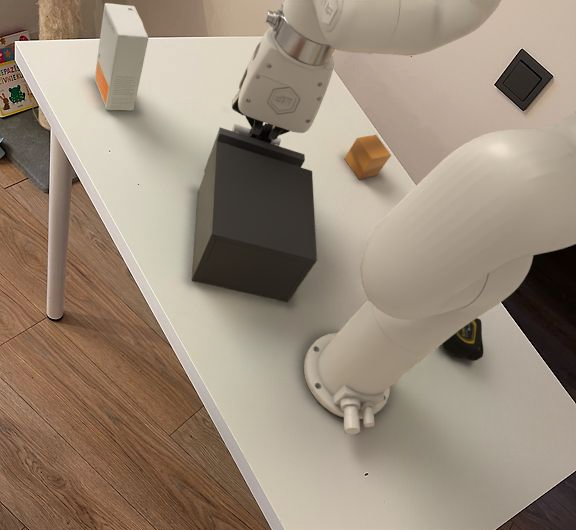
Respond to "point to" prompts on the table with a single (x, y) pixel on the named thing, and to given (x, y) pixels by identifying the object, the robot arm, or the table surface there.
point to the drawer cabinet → (254, 224)
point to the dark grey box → (257, 146)
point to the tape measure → (466, 341)
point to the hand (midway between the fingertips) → (253, 151)
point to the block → (367, 156)
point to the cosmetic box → (120, 56)
